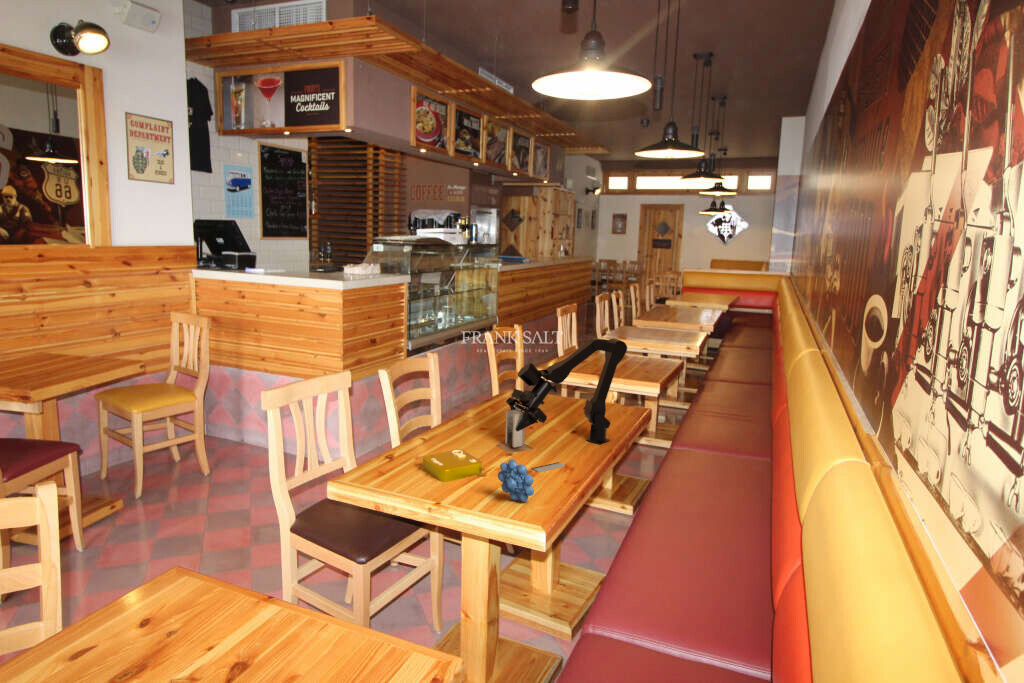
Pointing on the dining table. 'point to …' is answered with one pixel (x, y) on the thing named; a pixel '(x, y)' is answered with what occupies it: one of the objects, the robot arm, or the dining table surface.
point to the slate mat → (548, 467)
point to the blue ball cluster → (516, 481)
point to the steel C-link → (514, 428)
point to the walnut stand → (513, 449)
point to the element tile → (452, 465)
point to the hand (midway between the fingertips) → (511, 428)
